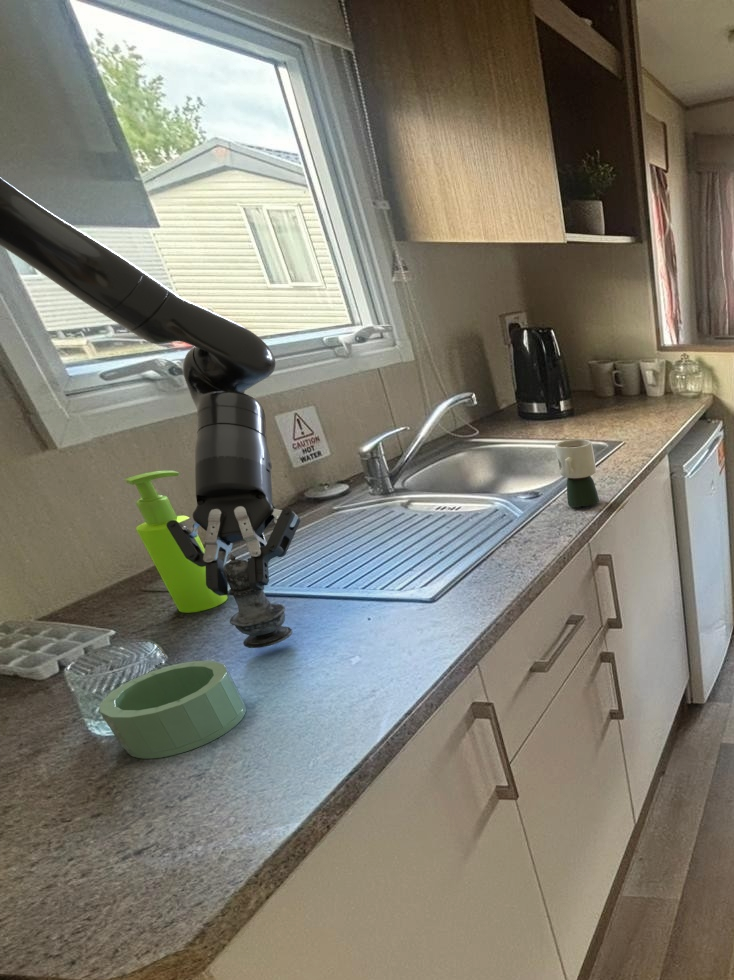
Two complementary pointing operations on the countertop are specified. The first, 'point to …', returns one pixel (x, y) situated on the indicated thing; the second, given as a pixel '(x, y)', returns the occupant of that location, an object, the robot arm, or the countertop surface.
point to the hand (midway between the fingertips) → (238, 590)
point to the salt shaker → (254, 609)
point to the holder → (173, 709)
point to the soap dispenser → (171, 548)
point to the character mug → (578, 471)
